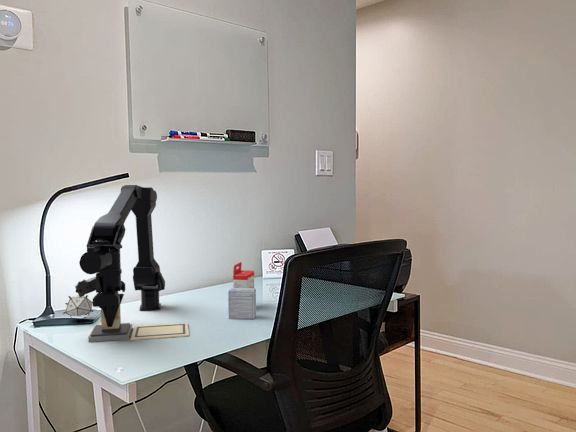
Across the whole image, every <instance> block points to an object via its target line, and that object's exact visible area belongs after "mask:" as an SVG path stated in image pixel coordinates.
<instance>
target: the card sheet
mask: <svg viewBox="0 0 576 432" xmlns="http://www.w3.org/2000/svg"><path fill="white" fill-rule="evenodd" d="M130 336H131V337H130V338H129V340H130V341H141V340H154V339H169V338H181V337H184V338H185V337H190V333H189V323H188V322H178V323H177V322H176V323H162V324H148V325H143V324H142V325H134V326H133V327H132V331H131V335H130Z"/></svg>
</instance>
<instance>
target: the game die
mask: <svg viewBox="0 0 576 432" xmlns="http://www.w3.org/2000/svg"><path fill="white" fill-rule="evenodd" d="M88 297H89V294H85V295H84V296H82V297H79V295H75V296H72V297H71V296H70V295H68V298H69V300H68V302H65V305H66V308H65V311H63V312H62V314H63V315H65V314H66V315H68V316H69V315H70V316H69V317H71V316H81V315H87V314H89V315H90V314H91V313H93V312H94V310H92V309H93V300H90V298H88Z"/></svg>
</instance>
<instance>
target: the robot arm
mask: <svg viewBox="0 0 576 432" xmlns="http://www.w3.org/2000/svg"><path fill="white" fill-rule="evenodd" d="M157 194H158V193H157V191H156V190H154V188H153V187H151V186H149V187H147V186H146V187H145V186H141V185H137V184H124V185H122V186H121V188H120V193H119V194H118V196H117V198H116V200H115V201H114V203H113V205H111V207H110V209H109V211H108V212H107V213H105V214H104V215H102V216H100V217H99V218H98V219H97V220H96V221H95V222H94V224H93V225H92V227H91V231H90V233H89V237H88V240H87V242H86V243H87V244H86V252H85V253H83V254H82V255H81V256H80V258H79V259H80V260H79V267H80V269H81V270H82V272H84V273H85V274H87V275H95V276H93V277H91V278H88V279H83V280H81V281H80V280H79V281H78V282H77V283H76V285H74V287H75V293H76V294H78V295H79V297H82V296H86V295H89V294H90V293H92V292H94V291H95V293H96V294H95V295H94V296H93V298H92V302H93V304H92V307H94V308H95V307H96V308H97V307H98V308H100V310H101V309H102V310H103V313H104V316H105V320H106V323H107V326H108V327H112V325H113V322H114V320H115V317H116V314H117V311H118V308H119V305H120V306H121V304H122V301H123V299H124V295H125V294H124V293H125V291H126V283H125V282H124V281H122V272H123V271H122V270H123V269H122V268H121V265H122V263H121V249H122V248H123V244H122V241H123V239H124V237H125V235H126V230H127V229H126V227H125V223H126V220H127V219H128V218H129V217H128V216H129V215H130V213H131V212H132V213H133V216H135V228H136V240H137V242H136V243H137V256H138V257H137V258H138V261H137V263H136V265H135V266H134V267H133V269H132V272H133V273H132V274H133V275H132V281H133V287H134V291H140V298H141V300H140V303H141V304H140V306H139V311H153V310H154V311H155V310H161V307H162V303H160V291H164V290H165V288H166V281H165V278H164V277H163V274H162V272H161V268H160V265H159V263H158V262H157V260H156V259H155V255H154V239H153V236H154V235H153V226H152V225H153V222H152V221H153V220H152V214H153V211H154V210H155V208H156V207H157V199H158V195H157ZM120 291H122V293H119V292H120Z"/></svg>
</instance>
